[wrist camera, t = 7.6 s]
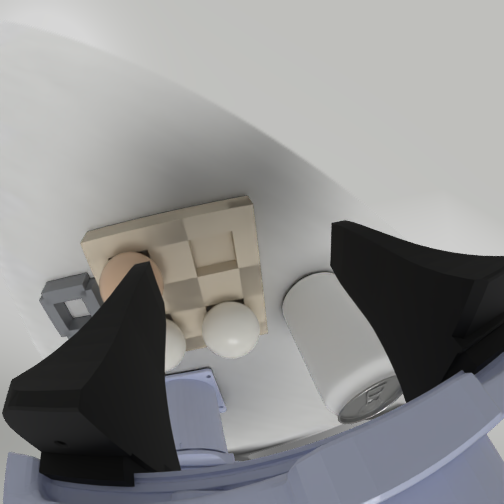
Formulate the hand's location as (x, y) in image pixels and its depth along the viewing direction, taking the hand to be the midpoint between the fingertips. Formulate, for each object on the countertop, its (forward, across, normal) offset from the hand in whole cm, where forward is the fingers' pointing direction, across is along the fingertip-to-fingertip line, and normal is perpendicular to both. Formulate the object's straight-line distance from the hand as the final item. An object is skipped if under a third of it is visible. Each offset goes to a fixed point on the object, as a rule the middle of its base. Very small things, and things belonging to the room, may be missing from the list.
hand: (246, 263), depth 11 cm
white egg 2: (+6, +1, +10) cm, 12 cm away
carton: (+10, +4, +7) cm, 13 cm away
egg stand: (+10, +14, +7) cm, 18 cm away
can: (+10, -7, +12) cm, 17 cm away
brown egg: (+6, +7, +4) cm, 10 cm away
